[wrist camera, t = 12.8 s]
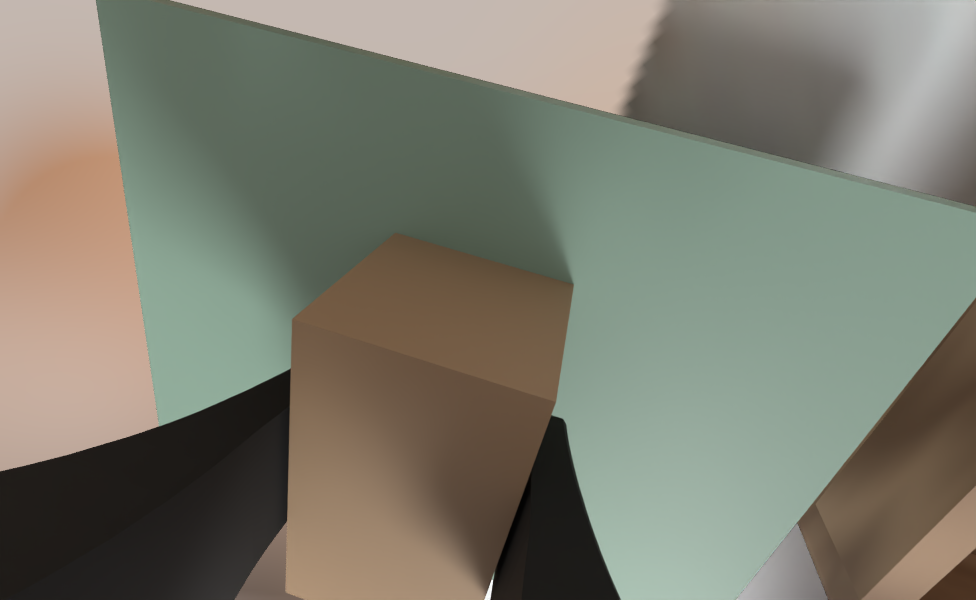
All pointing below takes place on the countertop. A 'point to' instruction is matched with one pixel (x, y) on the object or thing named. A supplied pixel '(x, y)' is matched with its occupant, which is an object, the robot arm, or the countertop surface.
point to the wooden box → (907, 490)
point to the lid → (508, 304)
